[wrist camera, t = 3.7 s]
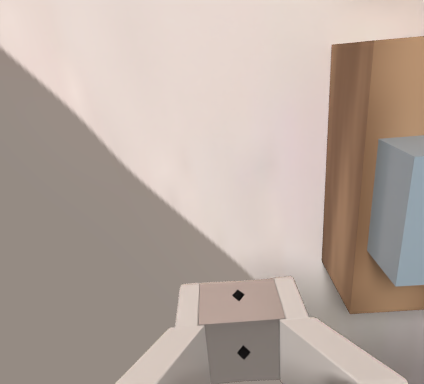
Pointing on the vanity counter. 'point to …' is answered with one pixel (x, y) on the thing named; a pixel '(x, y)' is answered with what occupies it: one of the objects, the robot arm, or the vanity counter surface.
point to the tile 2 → (399, 210)
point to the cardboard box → (367, 161)
